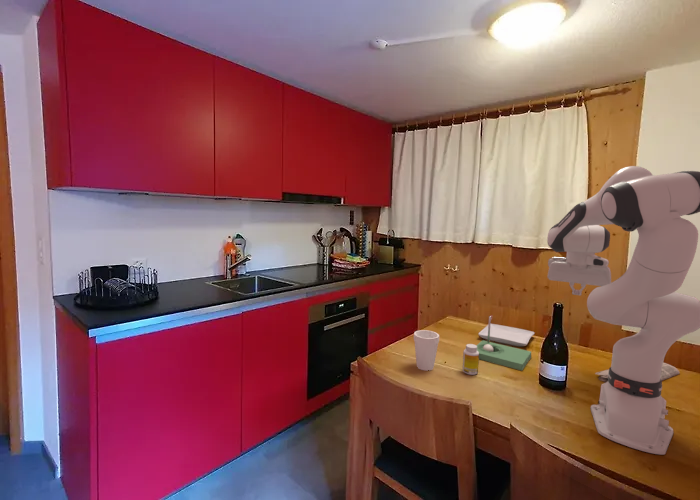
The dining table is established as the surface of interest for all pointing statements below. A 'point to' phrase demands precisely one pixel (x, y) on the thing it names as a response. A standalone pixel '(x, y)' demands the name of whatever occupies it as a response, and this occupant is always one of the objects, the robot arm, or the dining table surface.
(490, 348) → the ball
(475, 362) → the supplement bottle
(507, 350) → the golf putting green
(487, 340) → the flag pin
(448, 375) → the dining table surface
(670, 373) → the newspaper
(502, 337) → the salad plate
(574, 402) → the dining table surface
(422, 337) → the foam cup
